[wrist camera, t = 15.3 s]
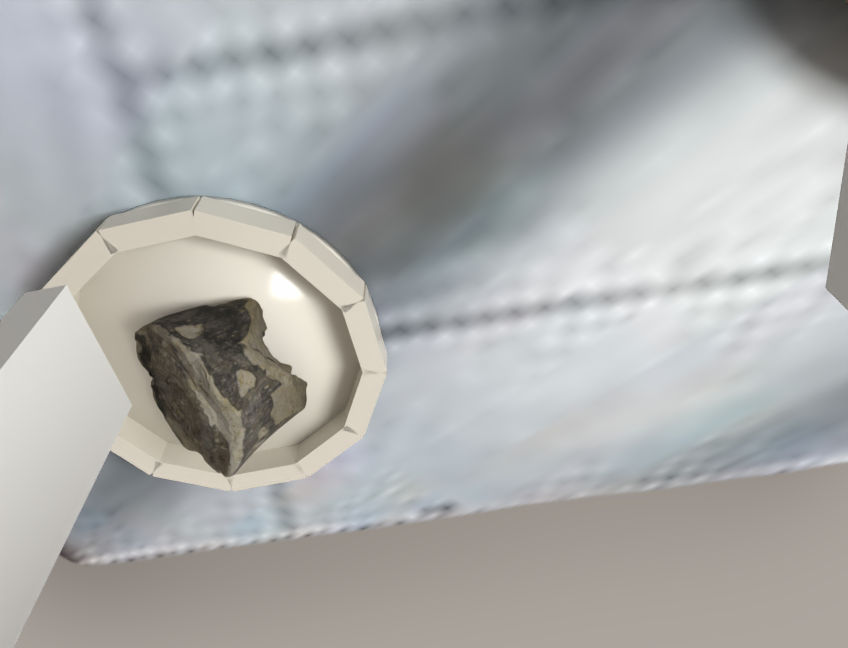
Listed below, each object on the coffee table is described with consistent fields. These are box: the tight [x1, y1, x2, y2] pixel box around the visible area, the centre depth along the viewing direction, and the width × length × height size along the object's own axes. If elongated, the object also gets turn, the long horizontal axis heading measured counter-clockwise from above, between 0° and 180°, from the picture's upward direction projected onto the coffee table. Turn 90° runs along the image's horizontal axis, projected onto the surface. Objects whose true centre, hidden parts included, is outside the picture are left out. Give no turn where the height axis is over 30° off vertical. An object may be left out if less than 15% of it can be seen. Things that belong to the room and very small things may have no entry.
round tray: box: [42, 196, 387, 491], centre depth 45 cm, size 21×21×3 cm
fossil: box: [134, 298, 307, 477], centre depth 43 cm, size 11×9×10 cm
